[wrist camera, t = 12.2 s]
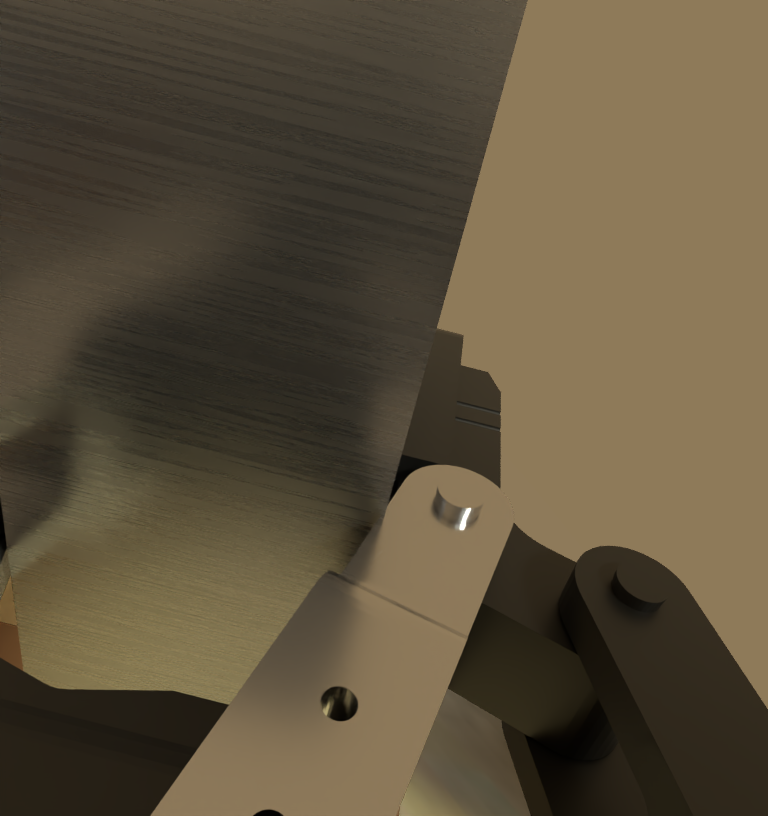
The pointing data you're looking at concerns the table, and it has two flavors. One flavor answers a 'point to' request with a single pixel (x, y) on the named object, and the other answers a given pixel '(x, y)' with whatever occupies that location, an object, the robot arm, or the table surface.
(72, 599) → the square bar
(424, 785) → the table surface
